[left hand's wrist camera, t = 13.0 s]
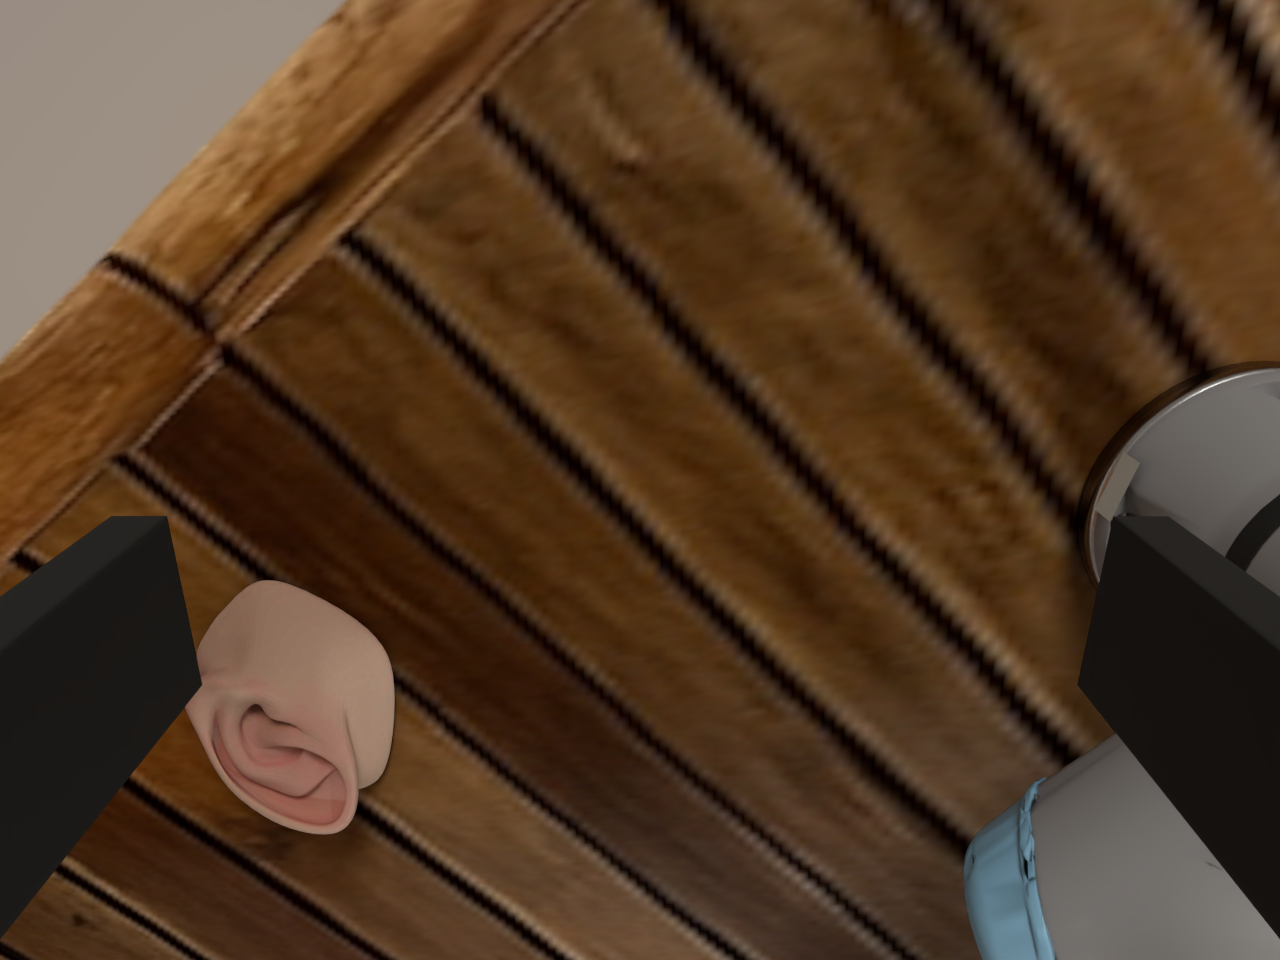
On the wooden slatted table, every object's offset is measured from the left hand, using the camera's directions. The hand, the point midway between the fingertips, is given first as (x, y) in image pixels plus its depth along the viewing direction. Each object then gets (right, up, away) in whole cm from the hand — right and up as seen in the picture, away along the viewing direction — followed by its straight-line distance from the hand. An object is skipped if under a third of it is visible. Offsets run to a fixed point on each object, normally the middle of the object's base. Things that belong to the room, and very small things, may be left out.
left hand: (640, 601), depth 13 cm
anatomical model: (-19, -10, +38) cm, 43 cm away
